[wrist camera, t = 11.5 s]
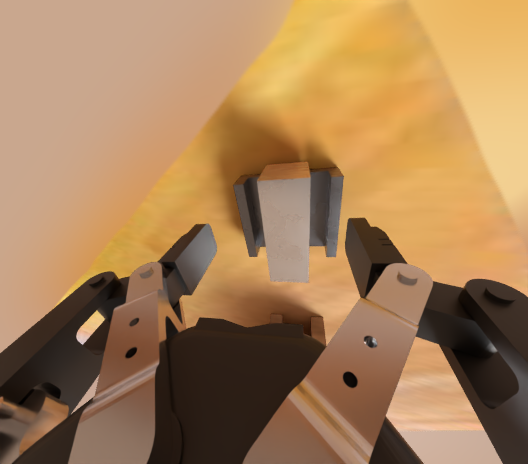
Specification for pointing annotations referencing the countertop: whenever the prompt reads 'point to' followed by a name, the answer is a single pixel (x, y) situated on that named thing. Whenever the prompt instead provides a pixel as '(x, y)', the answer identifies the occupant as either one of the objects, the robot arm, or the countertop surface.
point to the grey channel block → (321, 210)
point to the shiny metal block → (286, 219)
